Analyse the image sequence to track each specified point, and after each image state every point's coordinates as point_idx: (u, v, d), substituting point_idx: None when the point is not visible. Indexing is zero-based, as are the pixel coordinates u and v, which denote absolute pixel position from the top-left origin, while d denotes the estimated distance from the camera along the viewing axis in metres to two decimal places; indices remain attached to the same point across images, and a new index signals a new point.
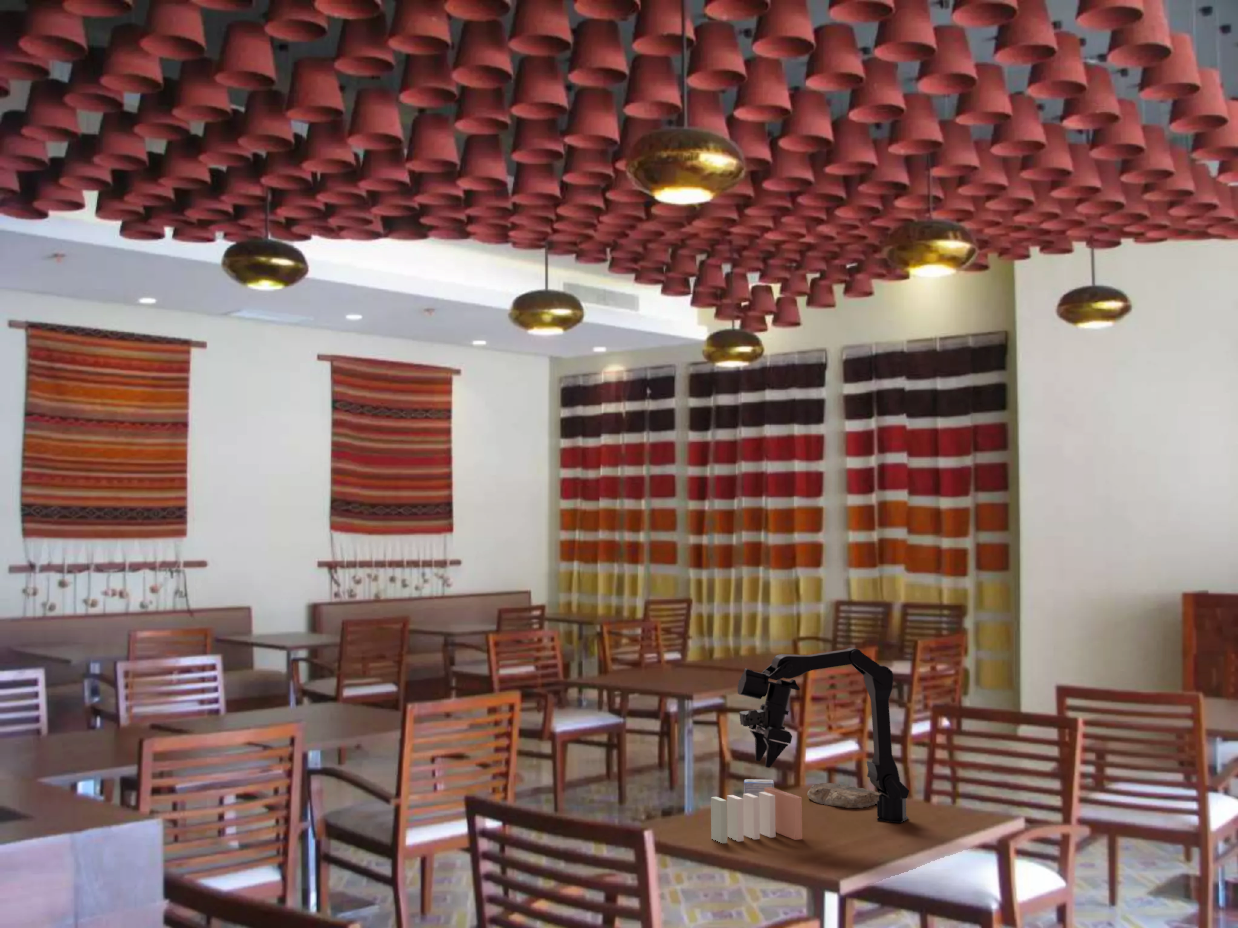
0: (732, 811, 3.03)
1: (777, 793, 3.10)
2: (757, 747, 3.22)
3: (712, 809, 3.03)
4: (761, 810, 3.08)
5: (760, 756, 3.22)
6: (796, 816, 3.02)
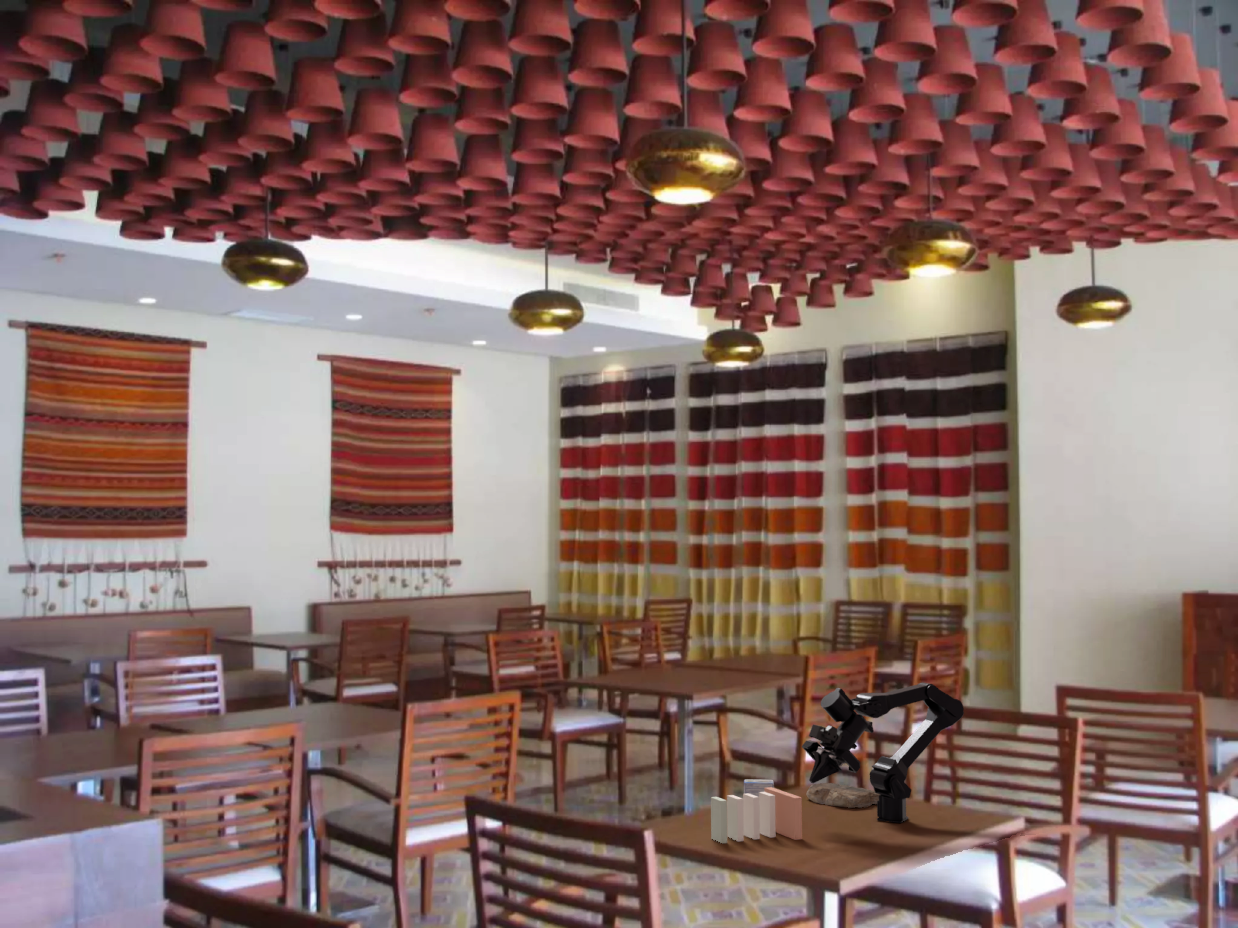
0: (732, 811, 3.03)
1: (777, 793, 3.10)
2: (816, 769, 3.14)
3: (712, 809, 3.03)
4: (761, 810, 3.08)
5: None
6: (796, 816, 3.02)
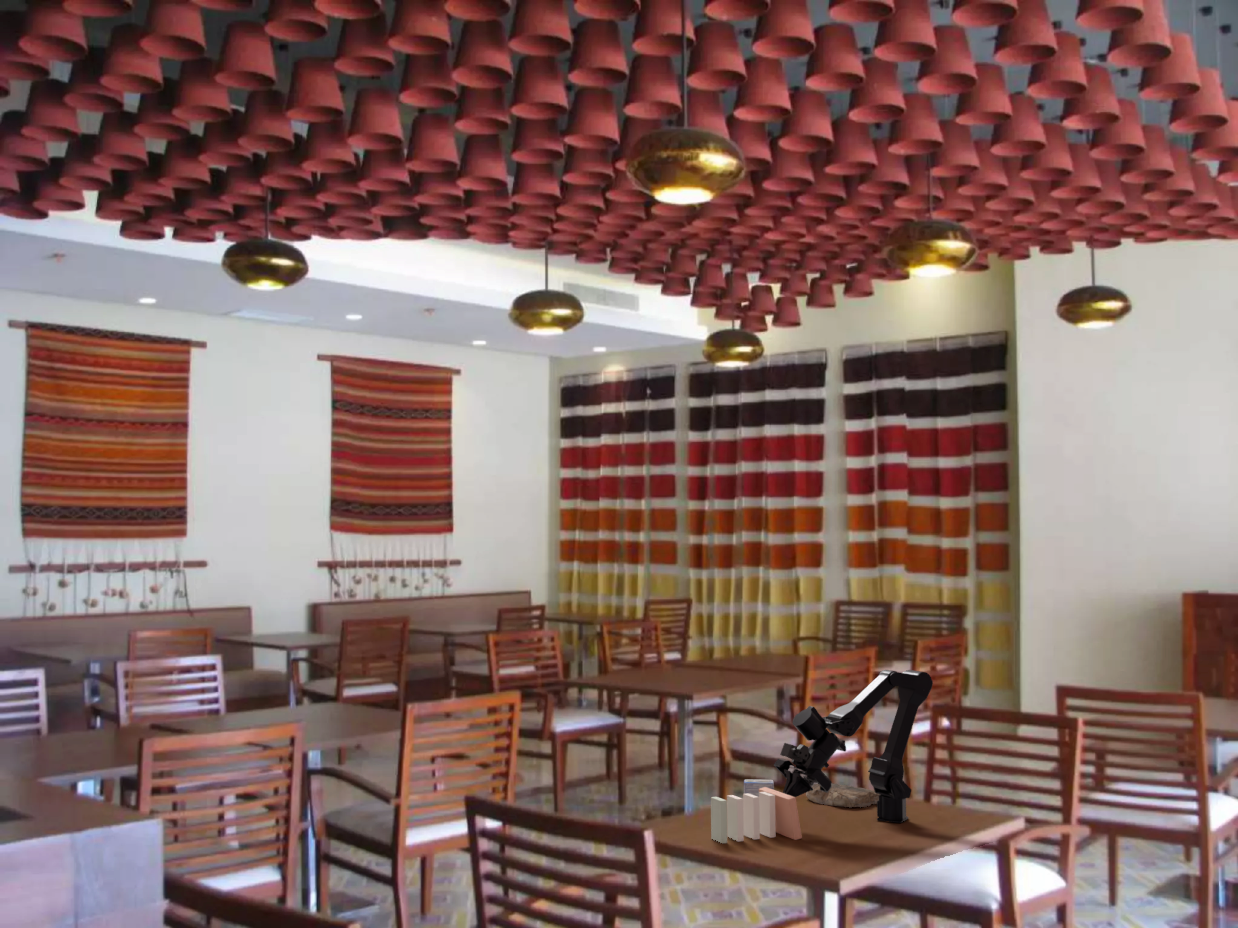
0: (732, 811, 3.03)
1: None
2: (787, 788, 3.10)
3: (712, 809, 3.03)
4: (761, 810, 3.08)
5: None
6: (793, 816, 3.02)
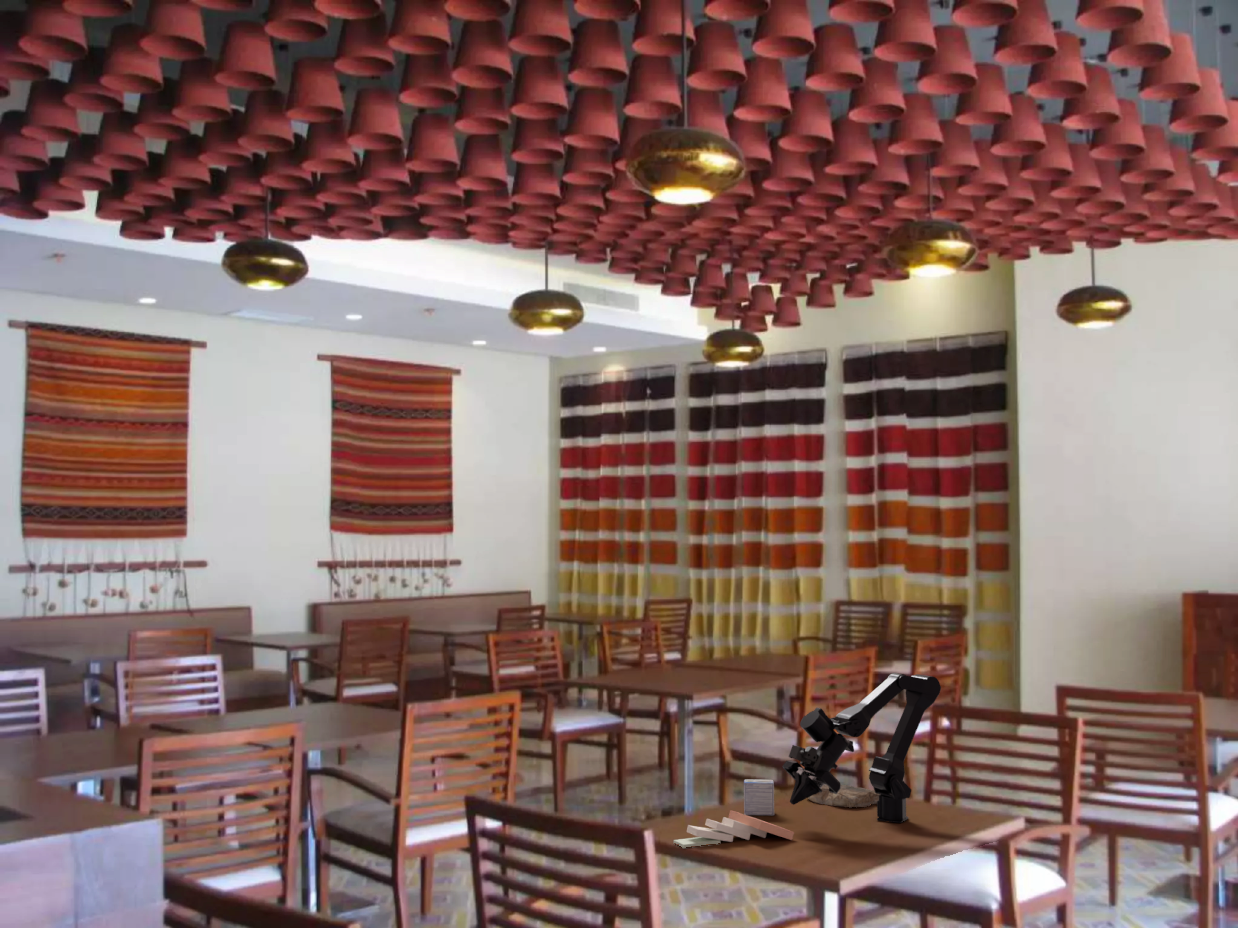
0: None
1: None
2: (796, 790, 3.11)
3: None
4: None
5: None
6: (774, 831, 2.99)
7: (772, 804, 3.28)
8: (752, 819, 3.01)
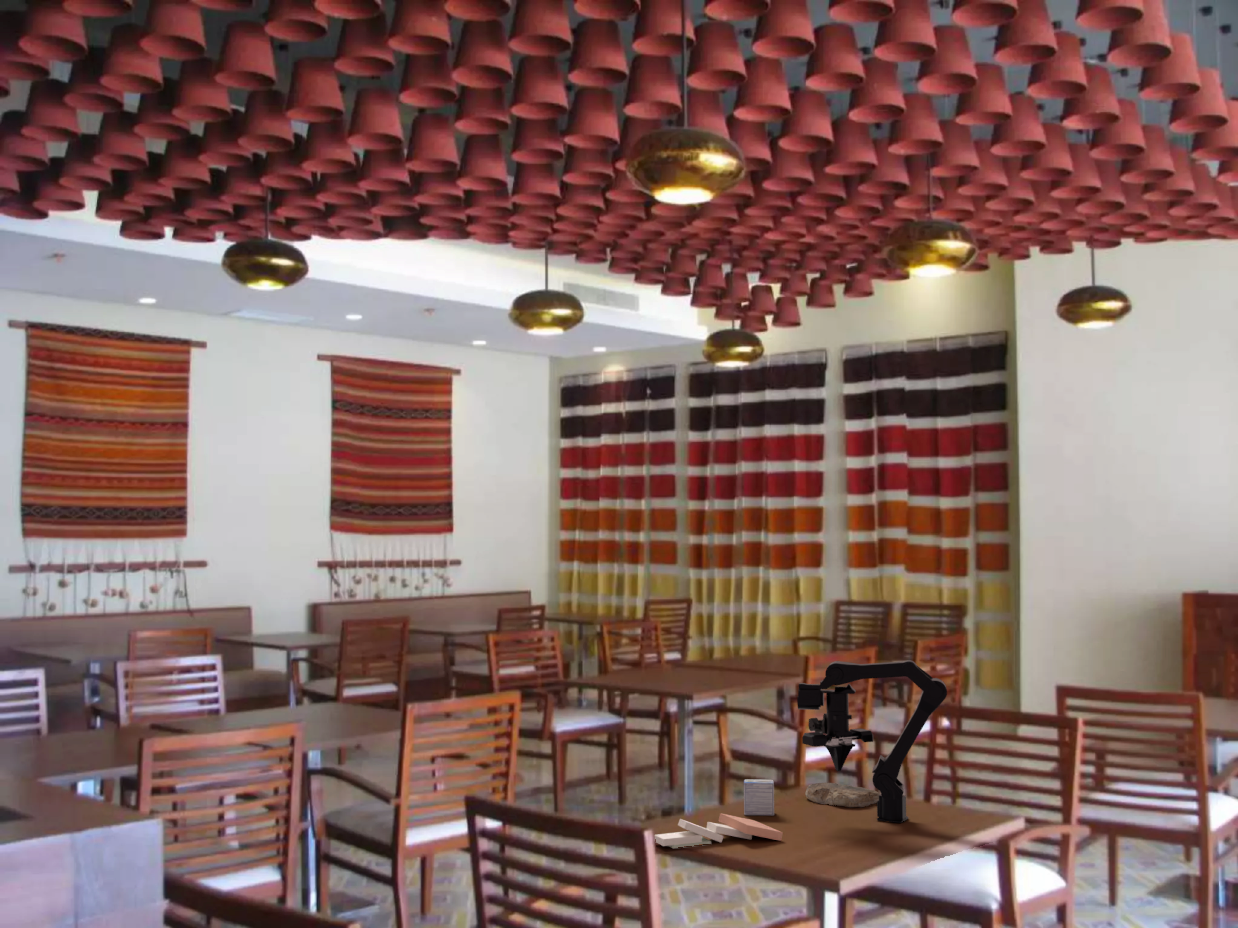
0: None
1: (731, 826, 3.04)
2: None
3: None
4: None
5: None
6: (762, 834, 2.99)
7: (772, 804, 3.28)
8: (739, 823, 3.01)
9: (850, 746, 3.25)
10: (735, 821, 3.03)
